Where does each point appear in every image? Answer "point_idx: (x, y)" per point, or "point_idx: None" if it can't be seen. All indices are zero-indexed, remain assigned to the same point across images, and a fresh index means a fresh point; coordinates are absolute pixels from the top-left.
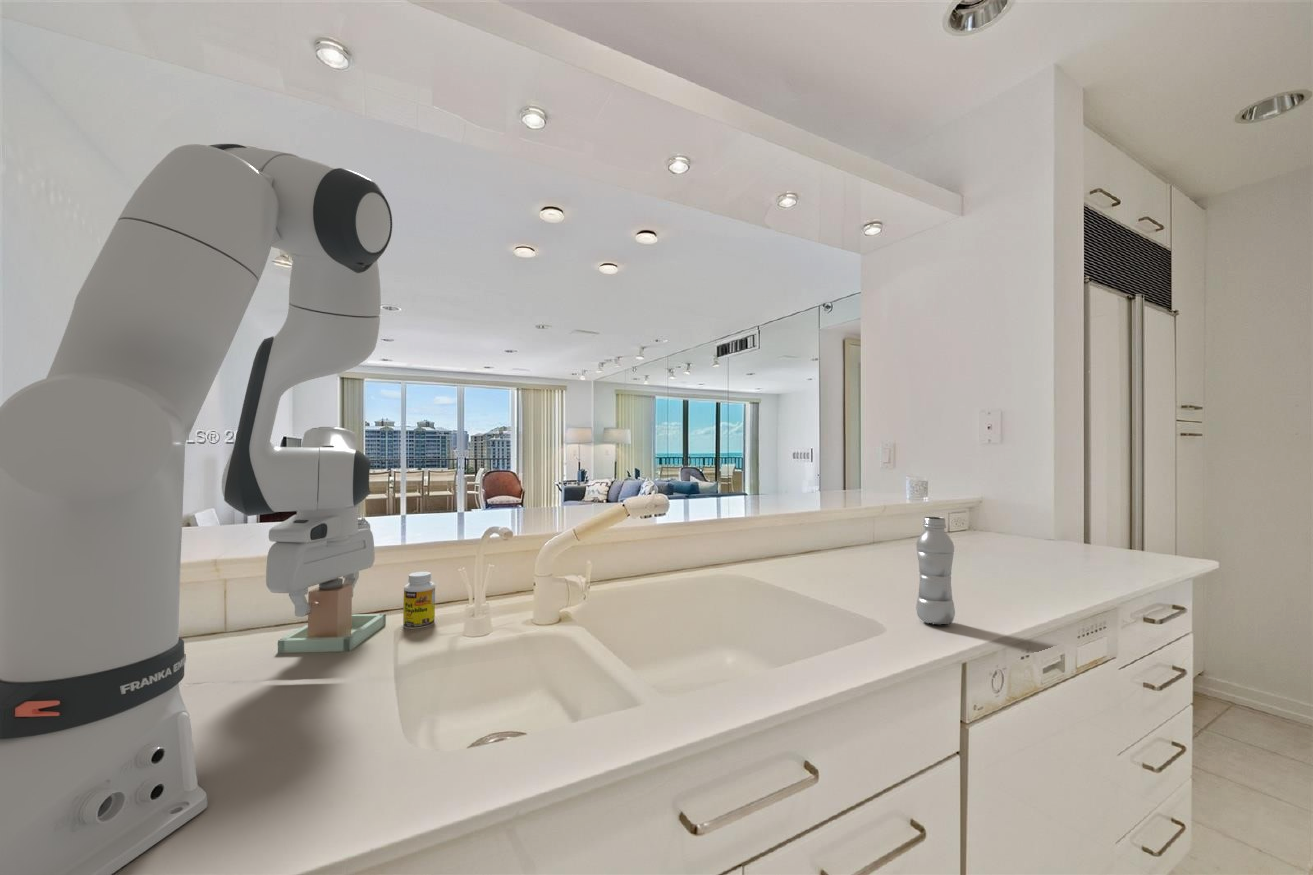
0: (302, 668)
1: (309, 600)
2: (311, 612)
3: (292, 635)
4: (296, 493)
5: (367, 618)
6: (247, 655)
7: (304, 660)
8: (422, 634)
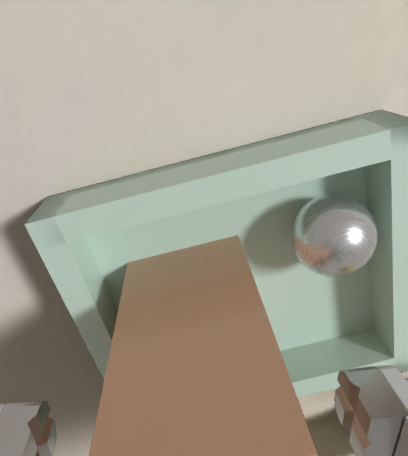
0: (6, 350)
1: (94, 443)
2: (54, 444)
3: (101, 230)
4: None
5: (386, 319)
6: (9, 43)
7: (57, 309)
8: (321, 447)
